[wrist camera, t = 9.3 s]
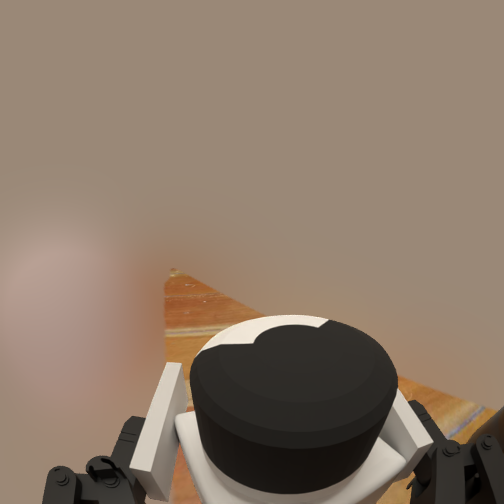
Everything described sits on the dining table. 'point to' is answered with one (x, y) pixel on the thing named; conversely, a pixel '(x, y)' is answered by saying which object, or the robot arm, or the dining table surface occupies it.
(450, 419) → the dining table surface
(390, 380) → the medicine bottle
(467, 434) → the dining table surface
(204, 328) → the dining table surface
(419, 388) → the dining table surface
